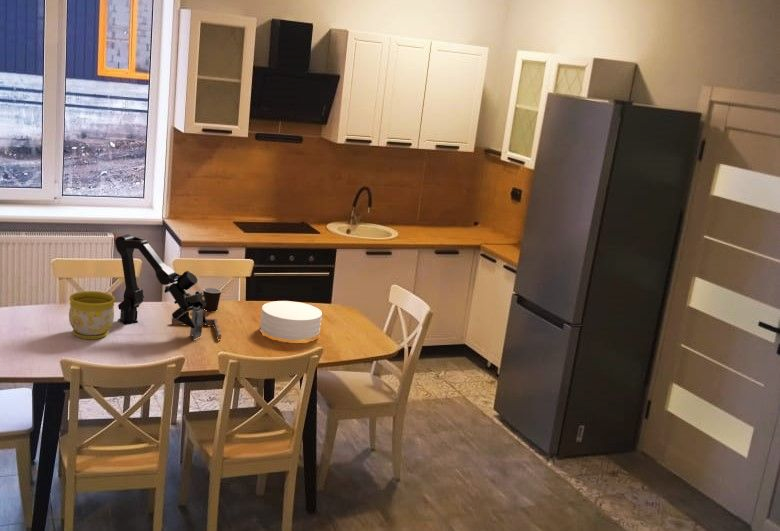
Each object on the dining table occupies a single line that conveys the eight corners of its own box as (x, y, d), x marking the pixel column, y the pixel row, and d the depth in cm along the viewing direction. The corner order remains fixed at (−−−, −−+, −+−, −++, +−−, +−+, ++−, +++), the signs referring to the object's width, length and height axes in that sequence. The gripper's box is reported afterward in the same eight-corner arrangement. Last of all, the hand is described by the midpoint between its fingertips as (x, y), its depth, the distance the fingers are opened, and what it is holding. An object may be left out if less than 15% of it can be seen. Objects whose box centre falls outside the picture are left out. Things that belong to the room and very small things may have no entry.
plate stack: (247, 331, 367) (249, 308, 364) (282, 319, 391) (285, 297, 389) (297, 348, 355) (300, 324, 352) (330, 334, 379) (333, 311, 377)
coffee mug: (217, 313, 385) (219, 294, 383) (199, 311, 385) (201, 291, 383) (222, 306, 397) (224, 287, 394) (205, 304, 397) (207, 285, 394)
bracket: (194, 340, 346) (197, 312, 343) (184, 337, 348) (187, 309, 344) (200, 337, 351) (203, 309, 348) (191, 334, 352) (194, 307, 349)
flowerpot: (59, 337, 329) (60, 299, 325) (81, 324, 346) (83, 288, 342) (100, 344, 327) (102, 306, 323) (120, 331, 344) (122, 295, 340)
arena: (220, 340, 350) (221, 334, 350) (173, 339, 344) (174, 333, 343) (216, 325, 369) (216, 319, 368) (171, 323, 363) (172, 317, 362)
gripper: (180, 290, 336) (200, 321, 335) (204, 281, 353) (223, 310, 352) (162, 304, 340) (183, 334, 339) (187, 294, 357) (206, 323, 357)
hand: (199, 325), depth 347 cm, fingers open, 9 cm apart
